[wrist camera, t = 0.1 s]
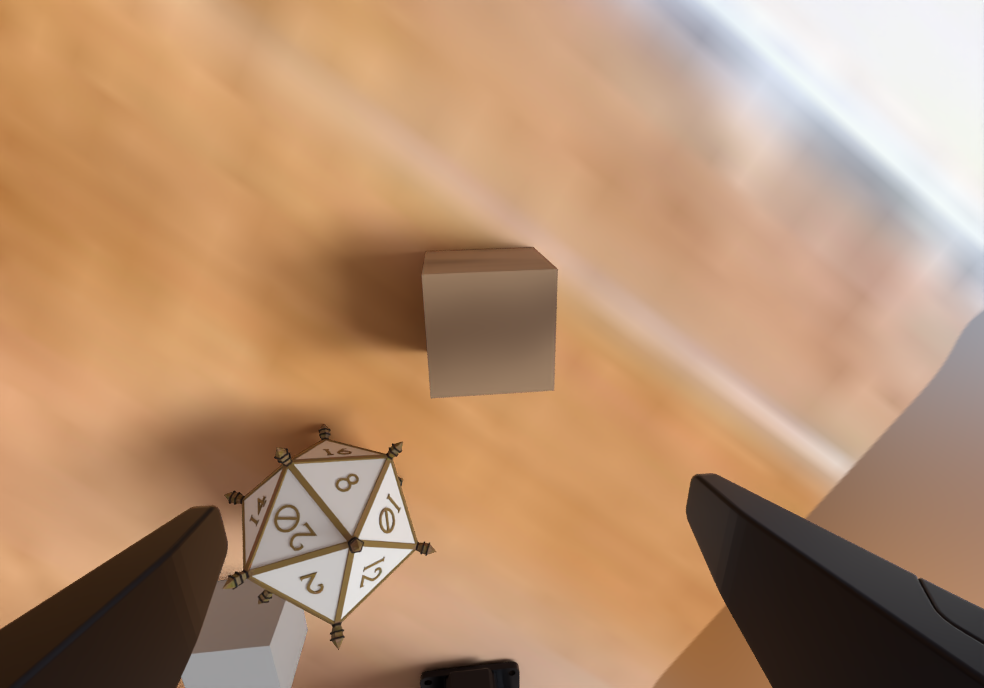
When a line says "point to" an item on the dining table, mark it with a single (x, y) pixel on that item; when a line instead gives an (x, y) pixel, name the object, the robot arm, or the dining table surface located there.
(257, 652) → the slate block
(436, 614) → the dining table surface
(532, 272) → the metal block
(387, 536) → the game die
